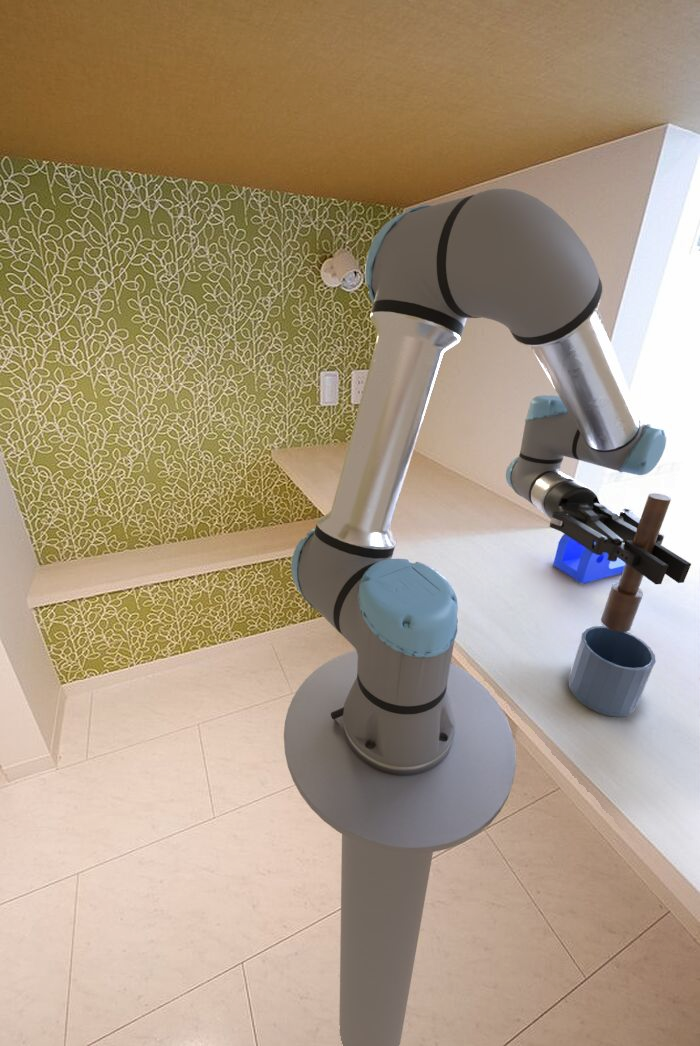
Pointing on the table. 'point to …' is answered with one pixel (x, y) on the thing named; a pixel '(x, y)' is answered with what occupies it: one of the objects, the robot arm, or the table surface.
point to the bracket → (584, 562)
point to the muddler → (627, 590)
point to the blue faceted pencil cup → (610, 671)
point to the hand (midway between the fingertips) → (673, 574)
